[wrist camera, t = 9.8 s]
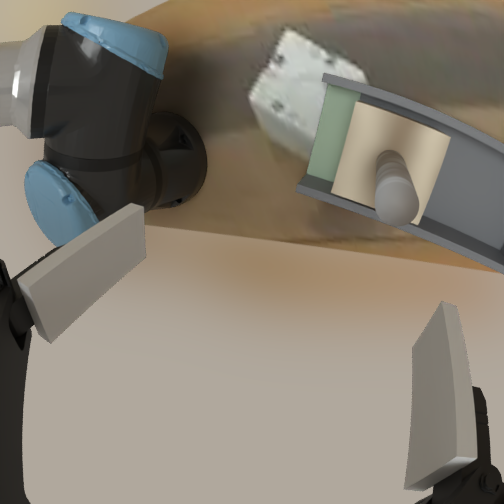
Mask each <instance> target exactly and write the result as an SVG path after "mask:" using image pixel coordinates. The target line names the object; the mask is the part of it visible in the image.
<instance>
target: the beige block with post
mask: <svg viewBox="0 0 504 504" xmlns="http://www.w3.org/2000/svg"><path fill="white" fill-rule="evenodd" d="M450 139H451V137H450V136H448V135H446V134H445V133H443V132H442V131H440V130H438V129H436V128H434V127H431V126H429V125H427V124H424V123H422V122H419V121H417V120H414V119H412V118H409V117H407V116H404V115H401V114H399V113H396V112H393V111H390V110H388V109H385V108H382V107H379V106H376V105H373V104H370V103H367V102H364V101H361V100H358V101H356V103H355V107H354V111H353V115H352V118H351V122H350V126H349V130H348V134H347V137H346V141H345V145H344V148H343V152H342V156H341V159H340V163H339V166H338V170H337V173H336V177H335V180H334V184H333V187H332V190H331V193H333V194H336V195H339V196H342V197H345V198H347V199H350V200H353V201H356V202H359V203H361V204H364V205H367V206H370V207H372V208H375V210H376V213H377V215H378V216H379V218H380V219H381V220H382V221H383V222H384V223H386V224H388V225H391V226H396V227H399V226H404V225H407V224H409V223H410V222H411V223H414V224H416V225H418V224H419V222H420V220H421V217H422V215H423V212H424V210H425V208H426V205H427V203H428V200H429V198H430V195H431V193H432V190H433V187H434V185H435V182H436V179H437V177H438V174H439V171H440V168H441V166H442V163H443V160H444V157H445V154H446V151H447V148H448V145H449V142H450Z"/></svg>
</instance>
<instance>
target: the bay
mask: <svg viewBox="0 0 504 504" xmlns="http://www.w3.org/2000/svg"><path fill="white" fill-rule="evenodd" d="M322 82H326V83H328V87H327V91H326V96H325V100H324V104H323V108H322V113H321V117H320V121H319V125H318V129H317V133H316V138H315V142H314V146H313V150H312V154H311V158H310V162H309V166H308V170H307V174H306V175H305V176H304V177H303V178H302V179H301V181H300V182H299V183H298V184H297V188H296V192H297V193H300V194H303V195H306V196H309V197H312V198H315V199H318V200H321V201H324V202H327V203H330V204H333V205H336V206H339V207H341V208H344V209H347V210H350V211H353V212H355V213H358V214H361V215H364V216H366V217H369V218H372V219H374V220H377V221H380V222H382V223H384V222H383V221H382V220H381V219H380V218H379V216H378V215H377V213H376V210H375V208H372V207H370V206H367V205H364V204H361V203H359V202H356V201H353V200H350V199H347V198H345V197H342V196H339V195H336V194H333V193H331V190H332V187H333V184H334V180H335V177H336V173H337V170H338V166H339V163H340V159H341V156H342V152H343V148H344V145H345V141H346V137H347V134H348V130H349V126H350V122H351V118H352V115H353V111H354V107H355V103H356V101H358V100H361V101H364V102H367V103H370V104H373V105H376V106H379V107H382V108H385V109H388V110H390V111H393V112H396V113H399V114H401V115H404V116H407V117H409V118H412V119H414V120H417V121H419V122H422V123H424V124H427V125H429V126H431V127H434V128H436V129H438V130H440V131H442V132H443V133H445V134H446V135H448V136H450V137H451V139H450V142H449V145H448V148H447V151H446V154H445V157H444V160H443V163H442V166H441V168H440V171H439V174H438V177H437V179H436V182H435V185H434V187H433V190H432V193H431V195H430V198H429V200H428V203H427V205H426V208H425V210H424V212H423V215H422V217H421V220H420V222H419V224H418V225H416V224H414V223H411V222H410V223H409V224H407V225H404V226H399V227H396V226H393V227H395V228H398V229H400V230H403V231H406V232H408V233H411V234H413V235H416V236H418V237H421V238H423V239H425V240H428V241H430V242H433V243H435V244H437V245H440V246H442V247H445V248H447V249H449V250H452V251H454V252H456V253H458V254H461V255H463V256H465V257H468V258H470V259H472V260H474V261H476V262H479V263H481V264H483V265H485V266H487V267H490V268H492V269H494V270H496V271H498V272H500V273H502V274H504V144H503V143H501V142H500V141H498V140H496V139H494V138H492V137H490V136H489V135H487V134H485V133H483V132H481V131H479V130H477V129H475V128H473V127H471V126H469V125H467V124H465V123H463V122H461V121H459V120H457V119H454V118H452V117H450V116H448V115H446V114H443V113H441V112H439V111H437V110H434V109H432V108H429V107H427V106H425V105H422V104H420V103H417V102H415V101H412V100H409V99H407V98H404V97H401V96H399V95H396V94H393V93H390V92H387V91H384V90H381V89H378V88H375V87H372V86H369V85H366V84H363V83H359V82H356V81H353V80H349V79H346V78H342V77H338V76H334V75H331V74H327V73H324V74H323V78H322ZM385 224H386V223H385ZM390 226H391V225H390Z"/></svg>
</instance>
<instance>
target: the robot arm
mask: <svg viewBox="0 0 504 504" xmlns="http://www.w3.org/2000/svg"><path fill="white" fill-rule="evenodd" d="M61 23H62V25H45V26H43V27H42V28H40V29H39V30H38V31H37V32H36V33H34V34H33V35H32V36H31V37H30V38H28V39H26V40H25V41H15V42H3V43H0V126H10V125H13V126H15V127H17V128H18V129H19V130H20V131H21V132H22V133H23V134H24V135H25V136H26V137H27V138H28V139H34V138H45V144H44V158H43V160H38V161H36V162H34V164H33V165H32V166H30V167H29V169H28V171H27V172H26V175H25V184H24V186H25V194H26V198H27V202H28V205H29V208H30V210H31V213H32V215H33V217H34V219H35V221H36V222H37V224H38V226H39V227H40V229H41V230H42V232H43V233H44V234H45V236H46V237H47V238H48V239H49V240H50V241H51V242H52V243H53V244H54V245H55V246H56V248H54V249H53V250H51V251H50V252H48V253H47V254H46V255H45V256H43V257H41V258H40V259H38V261H35V262H34V263H33V264H31V265H30V266H29V267H27V268H26V269H24V270H23V271H22V272H20V273H19V274H18V275H16V276H15V277H14V278H12V279H11V280H10V277H9V274H8V271H7V268H6V265H5V263H4V261H3V260H1V259H0V504H30V502H29V500H28V499H27V498H26V495H25V491H24V482H23V463H22V424H23V404H24V403H23V402H24V391H25V380H26V371H27V363H28V355H29V348H30V343H31V337H32V333H31V332H32V331H31V329H30V328H31V327H32V326H33V325H34V324H35V327H36V329H37V331H38V334H39V335H40V336H41V337H42V338H44V339H45V340H47V341H48V342H49V343H50V344H51V343H52V342H53V341H54V340H55V339H56V338H57V337H58V336H59V335H60V334H62V333H63V332H64V331H65V330H66V329H67V328H68V327H69V326H70V325H71V324H72V323H73V322H74V321H75V320H76V319H77V318H78V317H79V316H81V315H82V314H83V313H84V312H85V311H86V310H87V309H88V308H89V307H90V306H91V305H93V304H94V303H95V302H96V301H97V300H98V299H99V298H100V297H101V296H102V295H104V294H105V293H106V292H107V291H108V290H109V289H110V288H111V287H113V286H114V285H115V284H116V283H117V282H118V281H119V280H120V279H122V277H124V276H125V275H126V274H127V273H128V272H130V271H131V270H132V269H133V268H134V267H135V266H137V265H138V264H139V263H140V262H141V261H142V260H144V259H145V258H146V250H145V249H146V248H145V228H144V213H146V212H147V211H149V210H155V209H164V208H172V207H176V206H178V205H181V204H183V203H184V202H186V201H187V200H189V199H190V198H192V197H193V196H194V195H195V194H196V193H197V192H198V191H199V189H200V188H201V186H202V184H203V182H204V179H205V175H206V170H207V158H206V151H205V148H204V144H203V142H202V140H201V137H200V136H199V134H198V132H197V131H196V130H195V128H194V127H193V126H192V125H191V124H190V123H189V122H188V121H187V120H185V119H184V118H182V117H181V116H179V115H176V114H174V113H169V112H158V113H153V114H152V110H153V107H154V103H155V99H156V96H157V92H158V89H159V85H160V82H161V80H163V77H164V75H163V70H164V65H165V61H166V57H167V53H168V48H169V45H168V41H167V39H166V38H165V36H164V35H162V34H161V33H159V32H156V31H153V30H149V29H146V28H142V27H139V26H135V25H131V24H127V23H123V22H119V21H115V20H110V19H106V18H100V17H96V16H91V15H86V14H80V13H75V12H68V13H67V14H66V15H65V16H64V18H63V19H62V20H61ZM412 358H413V359H412V363H413V366H412V368H413V374H412V376H413V377H412V413H411V428H410V441H409V452H408V461H407V469H406V477H405V484H404V489H405V490H414V491H425V490H426V489H428V488H430V487H432V486H434V487H433V494H432V495H430V496H428V497H426V498H424V499H422V500H420V501H418V502H417V503H415V504H504V483H503V482H502V477H501V474H500V472H499V470H498V469H497V468H496V467H495V466H493V465H491V457H490V456H491V454H490V437H489V426H488V416H487V407H486V400H485V398H484V396H483V393H482V391H481V389H480V388H478V387H474V386H472V382H471V375H470V369H469V362H468V357H467V351H466V346H465V340H464V335H463V331H462V326H461V322H460V318H459V313H458V309H457V306H456V305H453V304H449V303H446V302H444V301H441V303H440V304H439V306H438V308H437V310H436V311H435V313H434V314H433V316H432V318H431V319H430V321H429V323H428V324H427V326H426V327H425V329H424V331H423V332H422V334H421V336H420V337H419V338H418V340H417V341H416V343H415V344H414V346H413V348H412Z"/></svg>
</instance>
